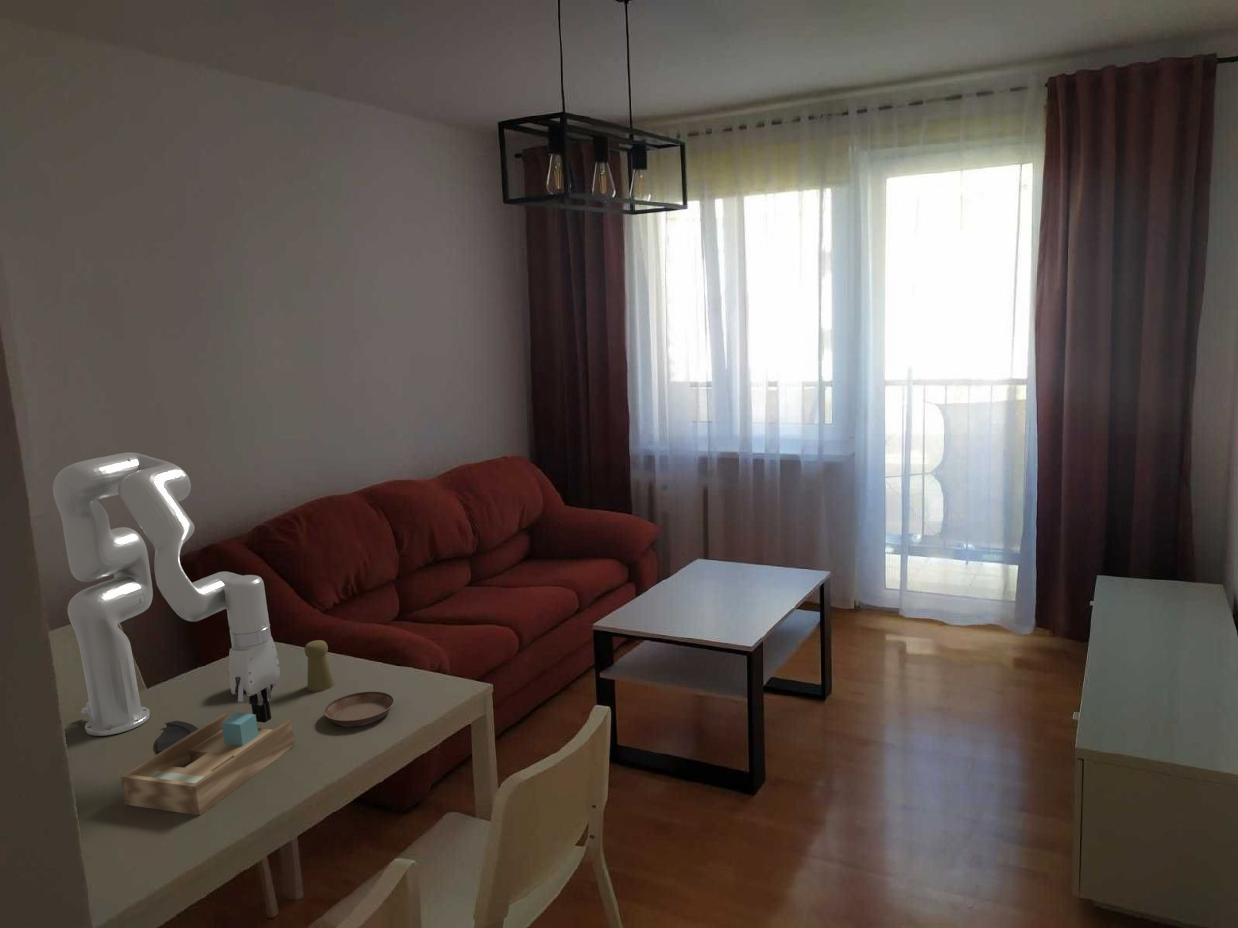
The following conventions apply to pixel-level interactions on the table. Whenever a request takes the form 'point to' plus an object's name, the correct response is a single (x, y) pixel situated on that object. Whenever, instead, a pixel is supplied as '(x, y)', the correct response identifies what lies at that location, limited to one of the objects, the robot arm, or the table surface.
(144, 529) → the robot arm
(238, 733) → the teal block
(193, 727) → the fan shaped piece
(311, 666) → the cork
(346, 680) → the table surface
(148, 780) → the box
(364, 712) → the saucer
